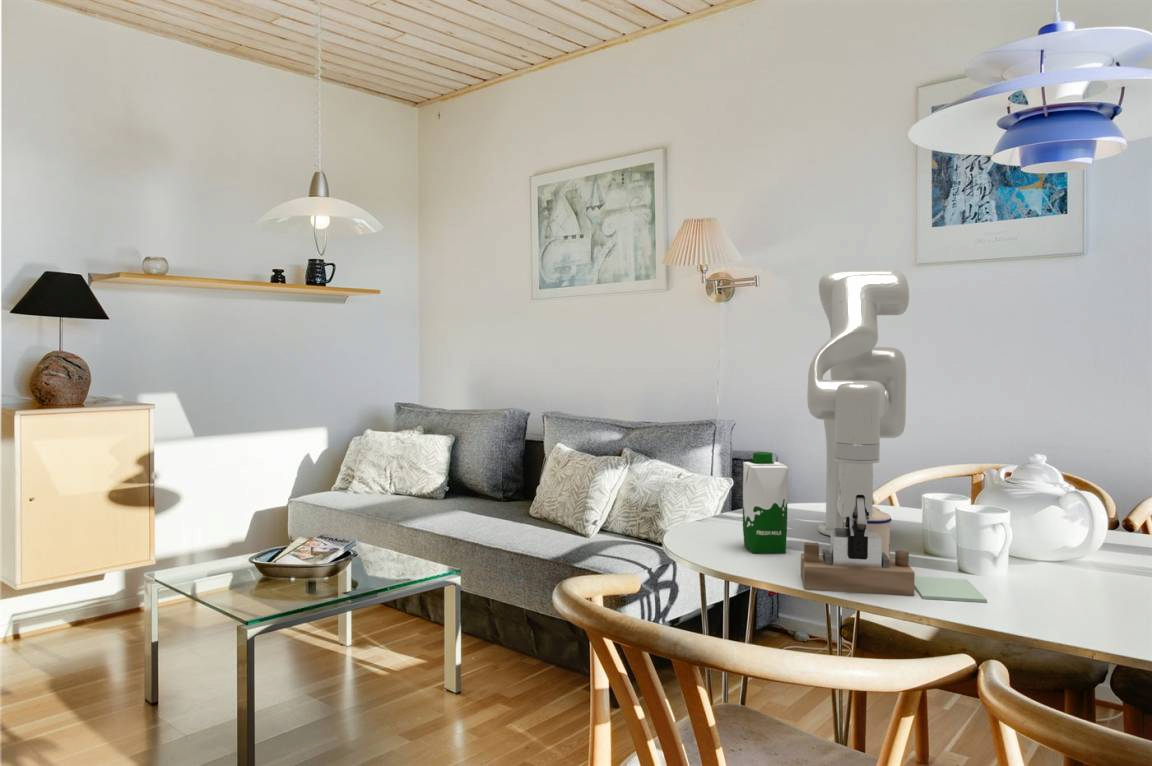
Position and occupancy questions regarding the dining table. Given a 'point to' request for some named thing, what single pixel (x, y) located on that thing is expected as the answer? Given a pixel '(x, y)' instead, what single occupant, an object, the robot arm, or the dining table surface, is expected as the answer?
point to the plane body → (856, 574)
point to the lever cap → (841, 549)
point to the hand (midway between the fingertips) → (855, 553)
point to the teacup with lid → (879, 528)
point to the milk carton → (765, 504)
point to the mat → (947, 589)
